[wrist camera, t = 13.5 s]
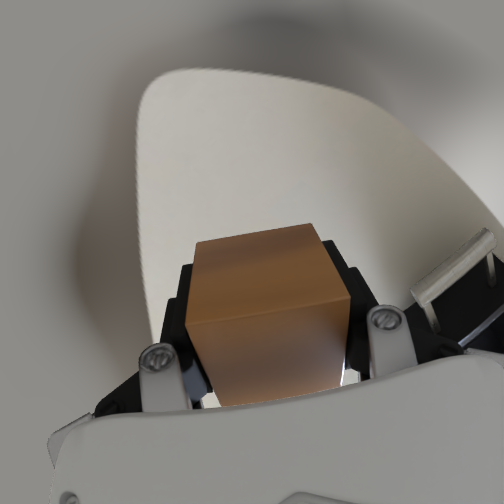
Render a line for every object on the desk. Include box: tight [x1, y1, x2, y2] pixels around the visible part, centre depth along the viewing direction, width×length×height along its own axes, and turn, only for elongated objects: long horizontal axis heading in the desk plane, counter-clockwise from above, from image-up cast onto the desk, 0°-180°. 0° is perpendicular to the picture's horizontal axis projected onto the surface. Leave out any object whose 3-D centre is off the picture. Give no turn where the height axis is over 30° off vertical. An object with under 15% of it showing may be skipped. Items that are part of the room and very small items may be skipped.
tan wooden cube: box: [185, 223, 351, 407], centre depth 11 cm, size 4×4×4 cm
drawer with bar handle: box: [403, 228, 504, 354], centre depth 21 cm, size 18×10×6 cm, turn 38°
